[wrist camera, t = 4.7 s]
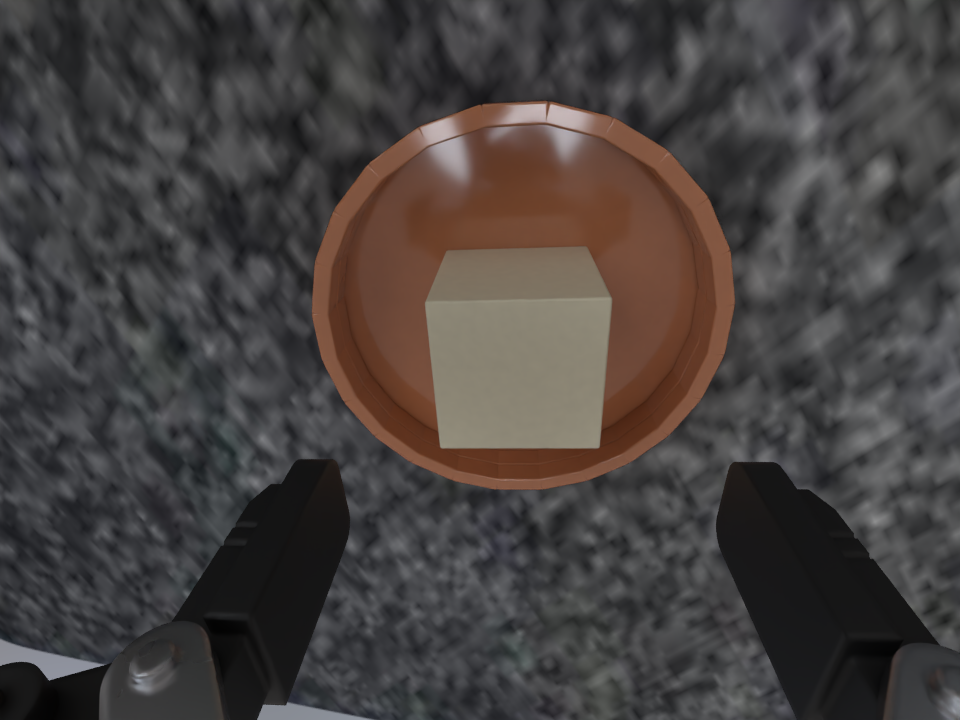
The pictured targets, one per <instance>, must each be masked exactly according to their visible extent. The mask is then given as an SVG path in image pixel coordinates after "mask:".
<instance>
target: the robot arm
mask: <svg viewBox="0 0 960 720" xmlns="http://www.w3.org/2000/svg"><path fill="white" fill-rule="evenodd" d="M349 528H350V515H349V509H348V505H347V501H346V497H345V492H344V488H343V484H342V479H341V475H340V471H339V467H338V464H337V462H336V461H335V460H333V459H299V460H297V461H296V462H295V463H294V464H293V466H292V467H291V469H290V471H289V472H288V474H287V476H286V477H285V479H284V481H283V482H282V484H271V485H269V486H268V487H267V488H266V489H265V490H263V491H262V492H261V493H260V494H259V495H257V496H256V497H255V498H254V499H253V500H252V501H250V502H249V504H248V505H247V507H246V508H245V510H244V511H243V513H242V515H241V516H240V518H239V519H238V521H237V522H236V527H235V528H232V530H231V532H230V533H229V535H228V536H227V538H226V539H225V541H224V546H221V547H220V548H219V550H218V552H217V553H216V555H215V556H214V558H213V559H212V561H211V562H210V564H209V565H208V567H207V569H206V570H205V572H204V573H203V575H202V576H201V578H200V579H199V581H198V582H197V584H196V586H195V587H194V589H193V590H192V592H191V593H190V595H189V596H188V598H187V599H186V601H185V602H184V604H183V606H182V607H181V609H180V610H179V612H178V613H177V615H176V616H175V618H174V619H173V620H172V622H170V623H167V624H163V625H161V626H158V627H156V628H153V629H152V630H150V631H148V632H146V633H144V634H143V635H141V636H140V637H138V638H137V639H135V640H134V641H133V642H132V643H131V644H129V645H128V646H127V647H126V648H125V649H124V650H123V651H122V652H121V653H120V654H119V655H118V656H117V658H116V659H115V660H114V661H113V663H110V664H107V665H104V666H100V667H96V668H93V669H89V670H86V671H82V672H79V673H75V674H71V675H68V676H64V677H60V678H57V679H54V680H50V681H49V680H48V679H47V678H46V676H45V675H44V674H43V673H42V671H41V670H40V669H39V668H38V667H37V666H36V665H34V664H32V663H28V662H15V663H9V664H5V665H2V666H0V720H257V718H258V716H259V713H260V711H261V708H262V706H263V704H266V705H286V704H287V701H288V698H289V696H290V693H291V690H292V688H293V685H294V682H295V680H296V677H297V674H298V672H299V669H300V666H301V664H302V661H303V658H304V656H305V653H306V650H307V648H308V645H309V642H310V640H311V637H312V634H313V632H314V629H315V626H316V624H317V621H318V618H319V616H320V613H321V610H322V607H323V605H324V602H325V599H326V597H327V594H328V591H329V589H330V586H331V583H332V581H333V578H334V575H335V573H336V570H337V567H338V565H339V562H340V559H341V557H342V554H343V551H344V549H345V546H346V543H347V540H348V535H349ZM716 532H717V539H718V543H719V547H720V550H721V552H722V555H723V557H724V559H725V561H726V563H727V566H728V568H729V570H730V572H731V574H732V577H733V579H734V581H735V583H736V586H737V588H738V590H739V592H740V594H741V597H742V599H743V601H744V603H745V606H746V608H747V610H748V612H749V614H750V617H751V619H752V621H753V623H754V626H755V628H756V630H757V632H758V634H759V637H760V639H761V641H762V643H763V646H764V648H765V650H766V652H767V654H768V657H769V659H770V661H771V663H772V666H773V668H774V670H775V672H776V674H777V677H778V679H779V681H780V683H781V686H782V688H783V690H784V692H785V694H786V697H787V699H788V701H789V703H790V706H791V708H792V710H793V712H794V714H795V717H796V719H797V720H960V653H959V652H956V651H954V650H952V649H949V648H946V647H943V646H940V645H939V643H938V642H937V641H936V640H935V639H934V637H933V636H932V635H931V633H930V632H929V631H928V630H927V628H926V627H925V626H924V624H923V623H922V622H921V620H920V619H919V618H918V617H917V615H916V614H915V613H914V611H913V610H912V609H911V607H910V606H909V605H908V604H907V602H906V601H905V600H904V598H903V597H902V596H901V594H900V593H899V592H898V591H897V589H896V588H895V587H894V585H893V584H892V583H891V581H890V580H889V579H888V578H887V576H886V575H885V574H884V572H883V571H882V570H881V568H880V567H879V566H878V565H877V563H876V562H875V561H874V559H870V557H869V553H868V552H867V550H866V549H865V548H864V546H863V545H862V544H861V542H860V541H859V540H858V539H855V538H854V533H853V532H852V531H851V529H850V528H849V527H848V526H847V524H846V523H845V522H844V520H843V519H842V518H841V516H840V515H839V514H838V513H837V511H836V510H835V509H834V508H832V507H831V506H830V505H828V504H827V503H826V502H824V501H823V500H822V499H820V498H819V497H818V496H816V495H815V494H814V493H812V492H811V491H810V490H807V489H797V488H796V487H795V486H794V484H793V483H792V481H791V480H790V479H789V477H788V476H787V474H786V473H785V472H784V470H783V469H782V468H781V466H780V465H778V464H777V463H775V462H734V463H732V464H731V465H730V467H729V470H728V474H727V478H726V482H725V486H724V490H723V494H722V499H721V503H720V507H719V511H718V515H717V520H716Z"/></svg>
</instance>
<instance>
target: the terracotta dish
mask: <svg viewBox="0 0 960 720" xmlns="http://www.w3.org/2000/svg"><path fill="white" fill-rule="evenodd" d="M578 246H586V247H587V248H588V250H589V252H590V254H591V256H592V258H593V260H594V262H595V264H596V266H597V268H598V270H599V272H600V274H601V276H602V278H603V281H604V283H605V285H606V287H607V289H608V291H609V293H610V295H611V297H612V310H611V322H610V333H609V345H608V356H607V368H606V380H605V391H604V403H603V414H602V426H601V438H600V447H599V448H441V447H440V442H439V432H438V423H437V413H436V404H435V394H434V385H433V375H432V366H431V356H430V347H429V337H428V328H427V318H426V309H425V302H426V299H427V297H428V294H429V292H430V290H431V287H432V285H433V282H434V280H435V277H436V275H437V273H438V270H439V268H440V265H441V263H442V260H443V258H444V256H445V253H446V251H448V250H476V249H510V248H544V247H578ZM734 304H735V294H734V282H733V271H732V259H731V251H730V247H729V245H728V243H727V240H726V238H725V235H724V233H723V231H722V228H721V226H720V223H719V221H718V219H717V216H716V214H715V211H714V209H713V207H712V204H711V202H710V199H709V198H708V196H707V195H706V193H705V192H704V191H703V190H702V189H701V188H700V186H699V185H698V184H697V183H696V182H695V181H694V179H693V178H692V177H691V176H690V175H689V174H688V173H687V171H686V170H685V169H684V168H683V167H682V166H681V164H680V163H679V162H678V161H677V160H676V159H675V157H674V156H673V155H672V154H671V153H670V152H668V150H667V149H665V148H664V147H662V146H660V145H659V144H657V143H655V142H654V141H652V140H651V139H649V138H647V137H646V136H644V135H642V134H641V133H639V132H637V131H636V130H634V129H633V128H631V127H629V126H628V125H626V124H624V123H623V122H621V121H619V120H618V119H616V118H613V117H611V116H608V115H604V114H600V113H596V112H592V111H588V110H584V109H580V108H576V107H572V106H568V105H564V104H560V103H556V102H552V101H548V100H546V101H545V100H530V101H510V102H490V103H485V104H479V105H477V106H474V107H471V108H468V109H465V110H463V111H460V112H457V113H454V114H451V115H449V116H446V117H443V118H440V119H437V120H435V121H432V122H429V123H426V124H424V125H421V126H420V127H417V128H416V129H414V130H413V131H412V132H410V133H409V134H408V135H406V136H405V137H404V138H402V139H401V140H399V141H398V142H397V143H395V144H394V145H393V146H391V147H390V148H389V149H387V150H386V151H385V152H383V153H382V154H380V155H379V156H378V157H376V158H375V159H374V160H372V161H371V162H370V163H369V165H367V166H366V167H365V169H364V170H363V171H362V173H361V174H360V175H359V177H358V178H357V179H356V181H355V182H354V183H353V185H352V186H351V187H350V189H349V190H348V191H347V193H346V194H345V195H344V197H343V198H342V199H341V201H340V202H339V203H338V205H337V206H336V207H335V209H334V212H333V213H332V215H331V218H330V221H329V224H328V226H327V229H326V232H325V235H324V237H323V240H322V243H321V246H320V248H319V251H318V254H317V257H316V259H315V265H314V282H313V299H312V318H313V322H314V327H315V331H316V336H317V340H318V345H319V349H320V354H321V358H322V360H323V363H324V365H325V367H326V369H327V371H328V373H329V374H330V376H331V378H332V380H333V382H334V384H335V386H336V388H337V390H338V392H339V394H340V396H341V397H342V399H343V401H344V402H345V404H346V405H347V406H348V407H349V408H350V410H351V411H352V412H353V413H354V414H355V415H356V416H357V417H358V419H359V420H360V421H361V422H362V423H363V424H364V425H365V427H366V428H367V429H368V430H369V431H370V432H371V433H372V434H373V435H374V436H375V437H376V438H377V439H378V440H380V441H381V442H383V443H384V444H385V445H387V446H388V447H390V448H391V449H392V450H394V451H395V452H397V453H398V454H400V455H401V456H402V457H404V458H405V459H407V460H408V461H409V462H412V463H413V464H415V465H418V466H420V467H422V468H425V469H427V470H429V471H432V472H434V473H436V474H439V475H441V476H443V477H446V478H448V479H450V480H452V479H453V481H456V482H461V483H466V484H471V485H476V486H481V487H486V488H490V489H498V490H541V488H542V489H548V488H553V487H559V486H564V485H569V484H574V483H579V482H584V481H586V480H587V481H588V480H591V479H593V478H595V477H598V476H600V475H603V474H605V473H607V472H610V471H612V470H615V469H617V468H619V467H622V466H624V465H626V464H629V462H632V461H633V460H635V459H636V458H638V457H639V456H641V455H642V454H643V453H645V452H646V451H648V450H649V449H651V448H652V447H653V446H655V445H656V444H658V443H659V442H661V441H662V440H663V439H665V438H666V437H667V436H668V435H670V434H671V433H672V432H673V431H674V429H675V428H676V427H677V426H678V425H679V424H680V423H681V422H682V420H683V419H684V418H685V417H686V416H687V415H688V414H689V413H690V412H691V410H692V409H693V408H694V407H695V406H696V405H697V404H698V403H699V402H700V399H702V397H703V395H704V393H705V391H706V390H707V388H708V386H709V384H710V382H711V380H712V378H713V376H714V374H715V372H716V370H717V369H718V367H719V365H720V363H721V361H722V359H723V357H724V354H725V350H726V345H727V341H728V336H729V331H730V326H731V322H732V317H733V312H734V308H735V305H734Z"/></svg>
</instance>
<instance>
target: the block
mask: <svg viewBox="0 0 960 720" xmlns="http://www.w3.org/2000/svg"><path fill="white" fill-rule="evenodd" d="M425 309H426V318H427V328H428V337H429V347H430V356H431V366H432V375H433V385H434V394H435V404H436V413H437V423H438V432H439V442H440V447H441V448H599V447H600V438H601V426H602V414H603V403H604V391H605V380H606V368H607V356H608V345H609V333H610V322H611V310H612V297H611V295H610V293H609V291H608V289H607V287H606V285H605V283H604V281H603V278H602V276H601V274H600V272H599V270H598V268H597V266H596V264H595V262H594V260H593V258H592V256H591V254H590V252H589V250H588V248H587V247H586V246H578V247H544V248H510V249H476V250H448V251H446V253H445V256H444V258H443V260H442V263H441V265H440V268H439V270H438V273H437V275H436V277H435V280H434V282H433V285H432V287H431V290H430V292H429V294H428V297H427V299H426V302H425Z"/></svg>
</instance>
